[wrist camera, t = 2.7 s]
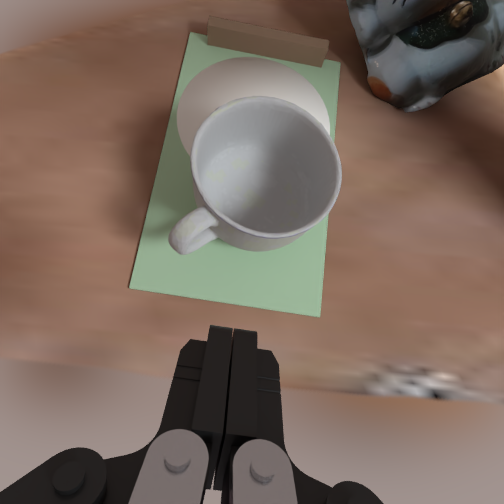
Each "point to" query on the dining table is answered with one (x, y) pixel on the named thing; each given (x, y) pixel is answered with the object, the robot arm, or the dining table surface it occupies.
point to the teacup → (258, 176)
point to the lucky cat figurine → (427, 46)
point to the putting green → (181, 181)
